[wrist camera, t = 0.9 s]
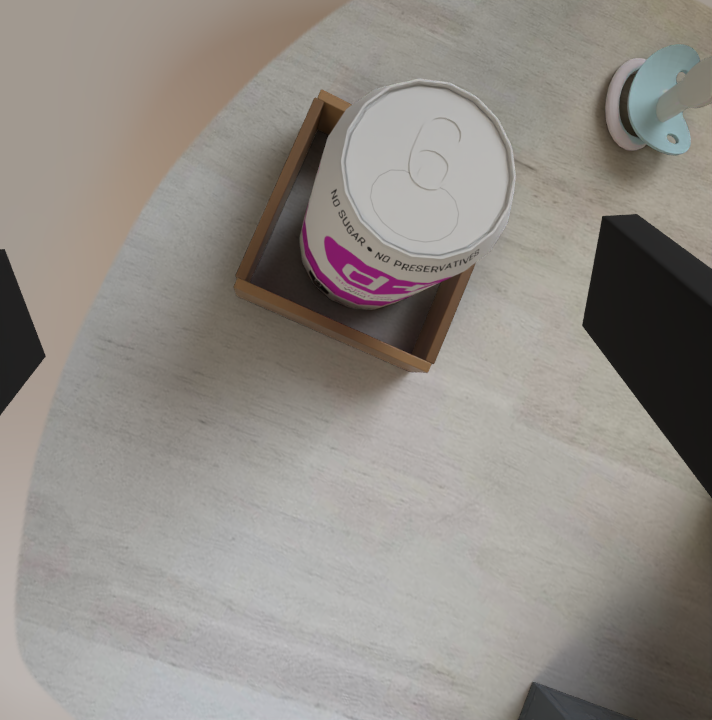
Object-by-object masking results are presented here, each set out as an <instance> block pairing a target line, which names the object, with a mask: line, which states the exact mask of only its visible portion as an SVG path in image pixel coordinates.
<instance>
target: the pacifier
mask: <svg viewBox="0 0 712 720" xmlns="http://www.w3.org/2000/svg"><path fill="white" fill-rule="evenodd" d="M679 72H684V73H685V74H686V75H685V77H684V78H683V80H682V81H680V82H679V83H677V82H676V76H677V74H678V73H679ZM634 73H636V75H635V77H634V79H633V81H632V84H631V87H630V90H629V95H628V103H627V108H628V116H629V120H630V123H631V125H632V127H633V129H634V131H635V133H636V134H637V135H638V137H634V136H632V135H630V134H629V133H628V132H627V131H626V130H625V128H624V127H623V124H622V122H621V118H620V113H619V100H620V94H621V91H622V88H623V85H624V83H625V81H626V80H627V78H628V77H629V75H631V74H634ZM711 103H712V56H711V57H708V58H705V59H703V60H702V61H700V58H699V56H698V54H697V52H696V51H695V50H694V49H693V48H691V47H689V46H686V45H683V44H676V45H670V46H668V47H665V48H662V49H660V50H658V51H657V52H655V53H654V54H653V55H651V56H650V57H649V58H648V59H647V60H646V59H642V58H634V59H631V60H628V61H626V62H625V63H624V64H623V65H621V66H620V67H619V69H618V70H617V71H616V73H615V74H614V76H613V78H612V80H611V83H610V85H609V88H608V92H607V96H606V105H605V114H606V122H607V126H608V129H609V132H610V134H611V136H612V138H613V140H614V141H615V142H616V143H617V144H618V145H619V146H620V147H622V148H624V149H626V150H638V149H641V148H643V147H644V146H646V145H648V146H650V147H651V148H653V149H655V150H657V151H659V152H661V153H664V154H667V155H680V154H682V153H685V152H686V151H687V150H688V149H689V147H690V133H689V129H688V126H687V124H686V122H685V120H684V118H683V116H682V113H683V111H684V110H686V109H687V108H700V107H704V106H707V105H709V104H711ZM667 135H670V136H672V137H673V138H674V139H675V141H676V144H673V143H671V142H669V141H668V139H667Z"/></svg>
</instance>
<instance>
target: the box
mask: <svg viewBox="0 0 712 720" xmlns="http://www.w3.org/2000/svg"><path fill="white" fill-rule="evenodd" d="M351 105H352V104H350V103H348V102H346V101H344V100H342V99H340V98H338V97H336V96H334V95H332V94H330V93H328V92H326V91H324V90H321V91H320V93H319V95H318V98H314V100H313V102H312V104H311V107H310V109H309V111H308V113H307V116H306V118H305V120H304V122H303V125H302V127H301V129H300V131H299V134H298V136H297V138H296V140H295V143H294V145H293V147H292V149H291V152H290V154H289V156H288V158H287V161H286V163H285V165H284V167H283V170H282V172H281V174H280V176H279V179H278V181H277V183H276V185H275V188H274V190H273V192H272V194H271V197H270V199H269V201H268V203H267V206H266V208H265V210H264V212H263V215H262V217H261V219H260V221H259V224H258V226H257V228H256V230H255V233H254V235H253V237H252V239H251V242H250V244H249V246H248V248H247V251H246V253H245V255H244V257H243V260H242V262H241V264H240V266H239V269H238V271H237V273H236V282H235V285H234V290H235V293H236V296H238V297H240V298H242V299H245V300H247V301H249V302H251V303H254V304H256V305H258V306H261V307H263V308H265V309H267V310H270V311H272V312H274V313H277V314H279V315H281V316H283V317H286V318H288V319H290V320H292V321H295V322H297V323H299V324H302V325H304V326H306V327H308V328H311V329H313V330H315V331H318V332H320V333H322V334H324V335H327V336H329V337H331V338H334V339H336V340H338V341H340V342H343V343H345V344H347V345H349V346H352V347H354V348H356V349H359V350H361V351H363V352H365V353H368V354H370V355H372V356H375V357H377V358H379V359H381V360H384V361H386V362H388V363H390V364H393V365H395V366H397V367H400V368H402V369H404V370H406V371H409V372H423V373H428V371H429V369H430V366H431V364H434V363H435V361H436V358H437V356H438V353H439V351H440V349H441V346H442V344H443V341H444V339H445V336H446V334H447V332H448V329H449V327H450V324H451V322H452V319H453V317H454V315H455V312H456V310H457V307H458V305H459V302H460V300H461V298H462V295H463V293H464V290H465V288H466V285H467V283H468V281H469V278H470V276H471V273H472V271H473V268H474V266H475V264H476V263H474V264H473V265H472V266H471V267H469V268H468V269H467V270H465V271H464V272H462V273H459V274H457V275H455V276H453V277H451V278H449V279H447V280H444V281H442V282H441V283H440V286H439V288H438V290H437V293H436V295H435V298H434V300H433V302H432V305H431V307H430V310H429V312H428V314H427V317H426V319H425V322H424V324H423V327H422V329H421V331H420V334H419V336H418V339H417V341H416V343H415V346H414V348H413V351H412V353H411V354H409V353H407V352H405V351H402V350H400V349H398V348H396V347H393V346H391V345H389V344H387V343H384V342H382V341H380V340H378V339H375V338H373V337H371V336H369V335H366V334H364V333H362V332H360V331H357V330H355V329H353V328H351V327H348V326H346V325H344V324H342V323H339V322H337V321H335V320H332V319H330V318H328V317H326V316H323V315H321V314H319V313H317V312H314V311H312V310H310V309H308V308H305V307H303V306H301V305H299V304H296V303H294V302H292V301H290V300H287V299H285V298H283V297H281V296H278V295H276V294H274V293H272V292H269V291H267V290H265V289H263V288H260V287H258V286H256V285H254V284H251V283H250V282H251V279H252V277H253V275H254V273H255V270H256V268H257V266H258V264H259V261H260V259H261V257H262V255H263V252H264V250H265V248H266V245H267V243H268V241H269V239H270V236H271V234H272V232H273V230H274V227H275V225H276V223H277V221H278V218H279V216H280V214H281V212H282V209H283V207H284V205H285V202H286V200H287V198H288V196H289V193H290V191H291V189H292V187H293V184H294V182H295V180H296V178H297V175H298V173H299V171H300V169H301V166H302V164H303V162H304V160H305V157H306V155H307V153H308V150H309V148H310V146H311V144H312V141H313V139H314V137H315V135H316V132H317V130H320V131H322V132H324V133H326V134H328V135H330V133H331V132H332V130H333V129H334V127H335V126H336V124H337V123H338V121H339V120H340V118H341V117H342V115H343V114H344V112H345V110H346V109H347V108H348V107H350V106H351Z"/></svg>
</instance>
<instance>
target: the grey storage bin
mask: <svg viewBox="0 0 712 720" xmlns="http://www.w3.org/2000/svg"><path fill="white" fill-rule="evenodd" d="M519 720H637V719H634V718H631V717H628V716H626V715H623V714H620V713H618V712H615V711H612V710H609V709H607V708H604V707H601V706H598V705H596V704H593V703H590V702H587V701H585V700H582V699H579V698H577V697H574V696H571V695H568V694H566V693H563V692H560V691H557V690H555V689H552V688H549V687H547V686H544V685H541V684H538V683H536V682H533V683H532V686H531V688H530V691H529V693H528V696H527V699H526V701H525V704H524V707H523V709H522V712H521V714H520V717H519Z"/></svg>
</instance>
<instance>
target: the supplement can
mask: <svg viewBox="0 0 712 720" xmlns="http://www.w3.org/2000/svg"><path fill="white" fill-rule="evenodd" d="M515 180H516V173H515V165H514V157H513V149H512V145H511V143H510V141H509V139H508V137H507V135H506V133H505V131H504V129H503V127H502V125H501V123H500V121H499V119H498V118H497V117H496V115H495V114H494V113H493V112H492V111H491V110H490V109H489V108H488V107H487V106H486V105H485V104H484V103H483V102H482V101H481V100H480V99H479V98H478V97H477V96H475V95H473V94H471V93H469V92H467V91H465V90H463V89H461V88H459V87H458V86H456V85H454V84H452V83H450V82H443V81H435V80H427V79H415V80H411V81H406V82H402V83H398V84H393V85H389V86H385V87H381V88H377V89H374V90H372V91H371V92H370V93H368V94H367V95H365V96H364V97H363V98H361V99H360V100H358V101H357V102H355V103H354V104H353V105H351V106H350V107H348V108H347V109H346V110H345V112H344V114H343V115H342V117H341V118H340V120H339V121H338V123H337V124H336V126H335V127H334V129H333V130H332V132H331V133H330V135H329V136H328V138H327V142H326V145H325V148H324V152H323V155H322V158H321V162H320V165H319V169H318V172H317V175H316V179H315V182H314V185H313V189H312V192H311V195H310V199H309V202H308V206H307V209H306V212H305V216H304V220H303V224H302V229H301V233H300V238H299V242H300V249H301V257H302V263H303V265H304V267H305V269H306V271H307V273H308V275H309V277H310V278H311V280H312V282H313V284H314V285H315V286H316V287H317V288H319V289H320V290H321V291H322V292H323V293H324V294H325V295H326V296H327V297H328V298H329V299H330V300H333V301H335V302H337V303H340V304H342V305H344V306H347V307H349V308H351V309H368V310H375V309H378V308H381V307H385V306H388V305H391V304H394V303H397V302H399V301H401V300H403V299H406V298H408V297H410V296H412V295H414V294H416V293H418V292H421V291H423V290H425V289H427V288H429V287H431V286H434V285H436V284H438V283H440V282H442V281H444V280H447V279H449V278H451V277H453V276H455V275H457V274H459V273H462V272H464V271H465V270H467V269H468V268H469V267H471V266H472V265H473V264H474V263H476V262H477V261H478V260H480V259H481V258H482V257H483V256H485V255H486V254H487V253H489V252H490V251H491V249H492V248H493V246H494V245H495V243H496V241H497V240H498V238H499V236H500V235H501V233H502V232H503V230H504V228H505V227H506V225H507V223H508V219H509V215H510V210H511V205H512V200H513V195H514V191H515V189H514V185H515Z"/></svg>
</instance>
